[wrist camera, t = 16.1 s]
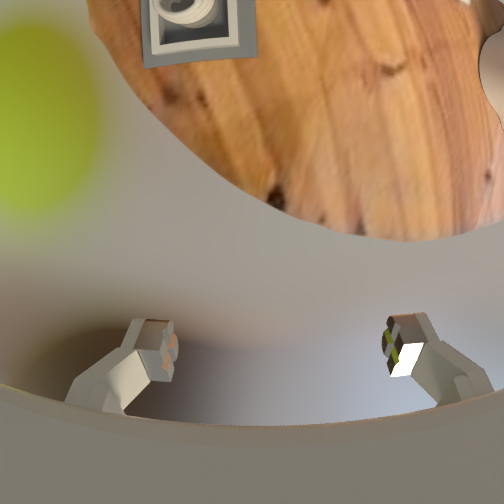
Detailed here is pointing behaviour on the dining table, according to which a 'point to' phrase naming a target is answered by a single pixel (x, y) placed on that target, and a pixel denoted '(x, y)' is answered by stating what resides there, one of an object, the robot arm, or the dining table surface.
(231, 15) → the bulb socket
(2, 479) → the robot arm
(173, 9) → the light bulb
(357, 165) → the dining table surface
